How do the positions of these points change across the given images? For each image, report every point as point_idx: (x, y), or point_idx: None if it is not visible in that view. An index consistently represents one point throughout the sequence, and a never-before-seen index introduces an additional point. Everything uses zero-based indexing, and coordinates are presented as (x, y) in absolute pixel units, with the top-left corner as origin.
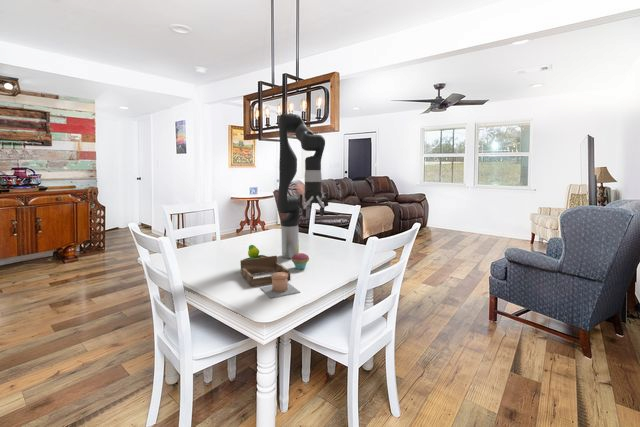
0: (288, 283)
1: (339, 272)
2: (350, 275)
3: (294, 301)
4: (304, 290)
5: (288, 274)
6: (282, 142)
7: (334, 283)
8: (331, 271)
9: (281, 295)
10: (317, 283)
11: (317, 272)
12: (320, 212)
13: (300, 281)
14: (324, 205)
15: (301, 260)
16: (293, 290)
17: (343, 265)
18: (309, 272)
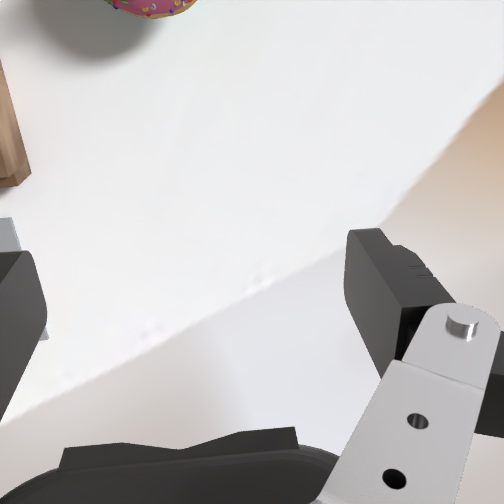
0: (10, 230)
1: (336, 165)
2: None
3: None
4: (72, 323)
5: (8, 184)
6: None
7: (229, 297)
8: (306, 128)
9: None
10: (156, 270)
11: (222, 109)
12: (362, 279)
13: (82, 214)
14: (488, 417)
15: (133, 14)
16: None
17: (440, 43)
18: (176, 87)
